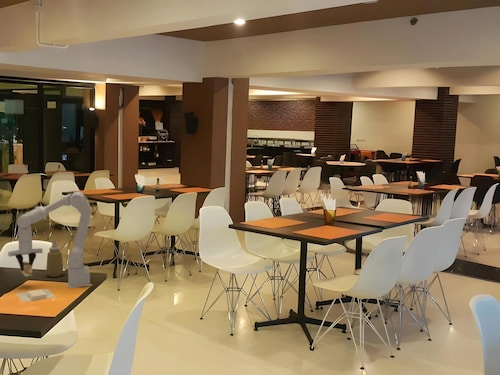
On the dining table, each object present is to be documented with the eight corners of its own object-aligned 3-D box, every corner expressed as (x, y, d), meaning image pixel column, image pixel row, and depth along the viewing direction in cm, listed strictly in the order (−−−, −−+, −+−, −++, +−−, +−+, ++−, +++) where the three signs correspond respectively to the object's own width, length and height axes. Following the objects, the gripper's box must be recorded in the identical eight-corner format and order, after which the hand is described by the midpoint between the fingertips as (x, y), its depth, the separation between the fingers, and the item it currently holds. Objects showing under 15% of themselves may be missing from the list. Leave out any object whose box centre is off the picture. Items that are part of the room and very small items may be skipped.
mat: (48, 289, 255) (47, 288, 255) (56, 297, 244) (56, 296, 244) (15, 294, 247) (15, 293, 247) (22, 303, 236) (22, 302, 236)
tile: (41, 289, 249) (46, 294, 241) (41, 293, 249) (46, 298, 242) (27, 291, 245) (32, 296, 238) (27, 295, 246) (32, 300, 238)
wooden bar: (27, 270, 262) (27, 261, 261) (32, 275, 254) (31, 265, 253) (20, 271, 260) (20, 262, 260) (25, 276, 252) (25, 266, 252)
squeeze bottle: (66, 274, 282) (65, 239, 280) (59, 278, 274) (58, 242, 272) (51, 273, 283) (50, 238, 281) (43, 277, 275) (42, 241, 273)
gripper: (39, 237, 263) (40, 266, 264) (6, 241, 255) (7, 270, 256) (43, 240, 257) (44, 269, 258) (9, 243, 249) (10, 273, 250)
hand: (26, 270), depth 257 cm, fingers closed on wooden bar, 3 cm apart
